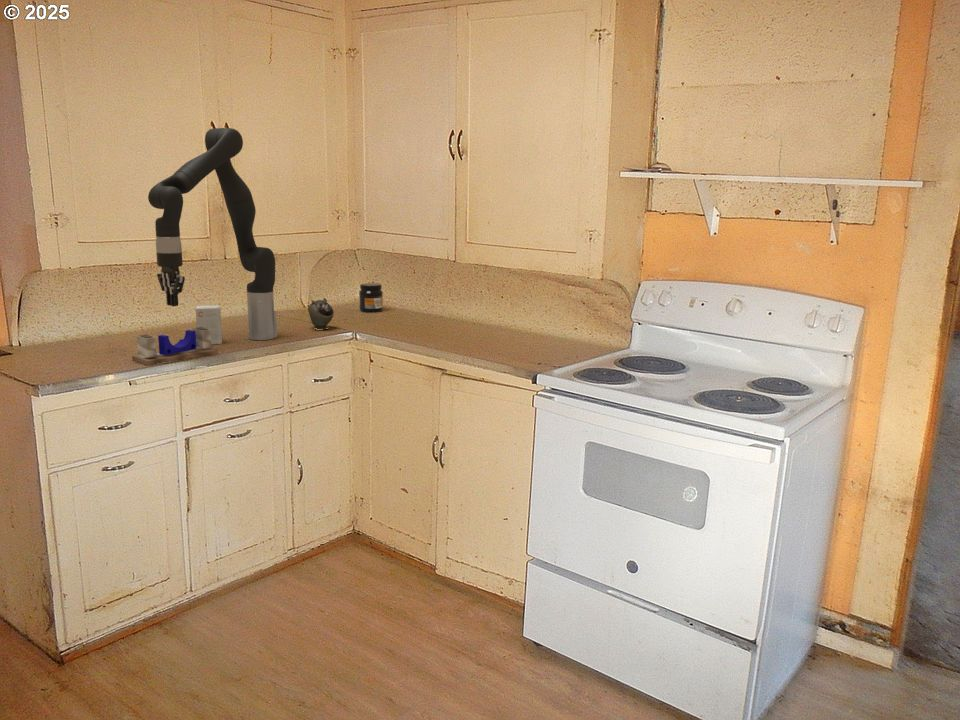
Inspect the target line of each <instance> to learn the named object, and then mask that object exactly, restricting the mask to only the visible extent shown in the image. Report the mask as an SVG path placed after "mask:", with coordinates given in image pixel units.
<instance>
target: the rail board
mask: <svg viewBox="0 0 960 720" xmlns="http://www.w3.org/2000/svg"><path fill="white" fill-rule="evenodd" d="M192 330H193V331H196V348H197V349H193V350H189V351H184V352H179V353H174V354H169V355H162V354H159V351H157V344H156V341H157V340H156V337H155V336H153V335H149V334H139V335H136V343H137V345H136V346H137V347H136V348H137V354H135V355H132V356H131V357H132V361H133V362H136V363H138V364H142V365H144V364H145V365H144V366H147V365H150V366H154V365H153V364H156V365H158V364H157V363H162V362H168V363H170V362H169V361H174V362H177V361H176V360H180V361H185V360H184V359H186V360H190V359H189V358H192V359H197V358H196V357H198V358H202V357H201V356H204V357H209V355H210V356H214V355H215V356H216V355H219V353H218V352H219V351H218V349H215V348H213V347H212V344H211V331H210V330H209V329H207V328H203V327H197V326H196V327H194V328H193V327H192ZM162 364H163V363H162Z"/></svg>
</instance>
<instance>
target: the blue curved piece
mask: <svg viewBox="0 0 960 720" xmlns="http://www.w3.org/2000/svg"><path fill="white" fill-rule="evenodd" d="M157 337H158V339H157V340H158V352H159V354H162V355H169V354H174V353H179V352H184V351H189V350H193V349H197V348H196V331H193V329H192V330H191V329H187V330H185V334H184V338H181V339H179V341H177V343H174V344H172V343H171V341H170V337H169V335H165V334H159V335H157Z"/></svg>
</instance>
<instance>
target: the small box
mask: <svg viewBox="0 0 960 720" xmlns="http://www.w3.org/2000/svg"><path fill="white" fill-rule="evenodd" d="M221 313H222V312H221V305H216V304H215V305H197V306H195V321H196V328H197V327H203V328H207V329H209V330H210V331H211V345H223V332H222V331H223V330H222V317H221V316H222V314H221Z"/></svg>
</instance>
